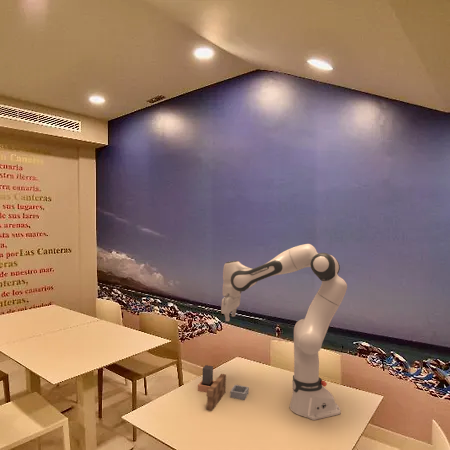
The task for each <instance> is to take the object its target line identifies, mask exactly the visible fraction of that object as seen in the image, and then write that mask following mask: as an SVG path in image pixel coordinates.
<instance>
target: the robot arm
mask: <svg viewBox="0 0 450 450" xmlns="http://www.w3.org/2000/svg"><path fill="white" fill-rule="evenodd" d="M306 268H311V271H312V273H313V274H314V275H315V276H316V277H317V278H318V279H319V280H320V281H321V284H320V287H319V289H318V291H317V292H316V294H315V295H314V297H313V299H312V301H311V303H310V304H309V307H308V309H307V312H306V315H305V317H304V318H302V319H299V320H298V321H296V323H295V325H294V327H293V354H294V355H293V356H294V358H293V361H294V363H293V365H294V367H293V375H292V395H291V399H290V403H289V408H290V410H291V411H292V412H293V413H294V414H296V415H298V416H301V417H305V418H307V419H309V420H312V421H316V420H321V419H325V418H329V417H334V416H337V415H341V413H342V412H341V408H340V406H339V405H338V404H337V402H336V401H335V397H334V395H333V394H332V393H331V391H330V390H328V389H327V388H326V386H327V385H328V384H327V383H328V382H326V381H325V380H323V379H322V378H321V377H320V375H319V374H320V359H319V358H320V356H319V352H320V350H321V349H322V345H323V342H324V339H325V337H326V334H327V332H328V329H329V326H330V324H331V322H332V319H333V318H334V316H335V314H336V312H338V309H339V308H340V306H341V304H342V302H343V300H344V297H345V295H346V293H347V289H348V284H347V282H346V281H345V279H343V278H342V277H341V276H339V275H338V274H339V273H340V268H341V266H340V262H339V261H338V260H337V259H336V257H334V256H333V255H331V254H328V253H326V252H318V251H317V249H316V247H315V246H314V245H312V244H311V243H305V244H304V243H303V244H300V245H296V246H294V247H290V248H288V249H286V250H284V251H282V252H281V253H279V254H277V255H276V256H275V257H274V258H272V259H271V260H269V261H267V262H265V263H264V264H262V265H258V266H257V267H255V268H252V267H251V268H250V267H249V266H246V265H244V264H242V262H240V261H238V260H230V261H227V262H225V263H224V265H223V269H222V280H223V282H222V283H223V284H222V296H223V298H222V299H221V305H220V306H221V307H220V312H221V315H222V314H223V315H224V317H225V318H224V319H225V322H230V320H231V318H230V313H231V317H233V318H234V317H236V314H237V308H239V306H240V304H241V297H242V296H241V293H242V292H245V291H246V290H248V289H250V288H251V287H253V286H255V285H256V284H257V283H258V282H259V281H261V280H264V279H267V278H271V277H273V276H279V275H285V274H290V273H294V272H298V271H300V270H303V269H306Z"/></svg>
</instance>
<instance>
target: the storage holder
mask: <svg viewBox="0 0 450 450" xmlns="http://www.w3.org/2000/svg"><path fill="white" fill-rule="evenodd" d="M249 388H250V387H249V386H244V385H240V384H239V385H238V384H234V385H233V386H232V388H231V389H230V392H229V395H230V396H229V398H232V399H236V400H242V401H245V400H246V399H247V396H248V395H249V393H250V392H249V391H250V389H249Z"/></svg>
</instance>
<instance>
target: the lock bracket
mask: <svg viewBox="0 0 450 450" xmlns="http://www.w3.org/2000/svg"><path fill="white" fill-rule="evenodd" d="M215 381H216V380H213V383H214V382H215ZM209 388H210V386H205V385H202V380H201V381H200V382H199V383H198V384H197V392H200V393H201V392H202V393H206V394H207V390H208V389H209Z"/></svg>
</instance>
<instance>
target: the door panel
mask: <svg viewBox="0 0 450 450" xmlns="http://www.w3.org/2000/svg"><path fill="white" fill-rule="evenodd" d="M226 378H227V373H226V374H225V373H221V374H220V375H219V376H218V377H216V379H215V380H214V381H215V382H214V383H213V384H212V385H211V386H210V388H209V389H208V390H207V393H206V410H207V411H210V412H212V411H213V410H214V409H215V408H216V407H217V405H218V404H219V402H220V401H221V399H222V398H223V397H224V395H225V394H226V391H227V390H226V389H227V388H226V387H227V386H226V385H227V384H226V383H227V381H226V380H227V379H226Z"/></svg>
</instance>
